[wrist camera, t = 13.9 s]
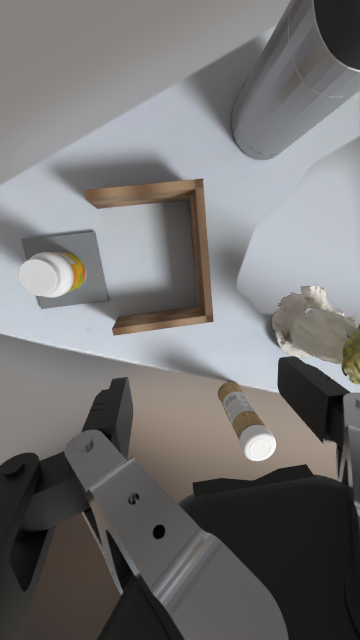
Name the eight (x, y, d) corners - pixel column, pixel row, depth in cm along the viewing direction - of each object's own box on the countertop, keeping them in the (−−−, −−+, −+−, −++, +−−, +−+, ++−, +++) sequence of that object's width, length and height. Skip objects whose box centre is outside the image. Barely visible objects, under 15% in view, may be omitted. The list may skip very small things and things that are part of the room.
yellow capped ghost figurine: (298, 368, 44) (394, 444, 26) (256, 322, 41) (334, 375, 23) (349, 323, 43) (487, 372, 25) (310, 271, 39) (438, 287, 22)
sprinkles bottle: (222, 405, 45) (251, 468, 32) (213, 387, 43) (238, 444, 30) (244, 395, 44) (281, 453, 32) (235, 376, 43) (271, 428, 30)
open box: (194, 191, 34) (202, 178, 28) (204, 311, 39) (213, 321, 33) (95, 200, 33) (83, 189, 27) (119, 323, 38) (113, 335, 32)
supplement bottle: (75, 296, 36) (48, 311, 26) (42, 275, 34) (0, 283, 25) (94, 267, 35) (73, 272, 26) (60, 244, 34) (25, 241, 24)
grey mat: (95, 232, 34) (94, 231, 34) (108, 299, 37) (108, 300, 36) (23, 239, 33) (21, 239, 33) (42, 308, 36) (41, 308, 36)
